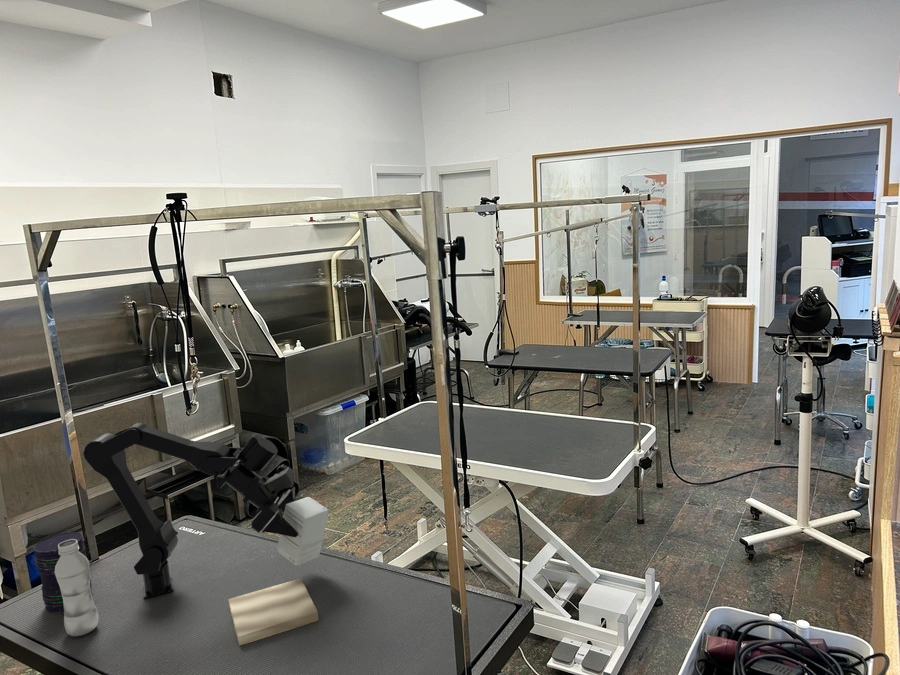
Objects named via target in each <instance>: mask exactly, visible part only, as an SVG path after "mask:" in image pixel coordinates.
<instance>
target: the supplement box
mask: <svg viewBox="0 0 900 675" xmlns="http://www.w3.org/2000/svg"><path fill="white" fill-rule="evenodd" d="M296 500H297V501H294V502H291V503H288V504H286V507H285V512H284V511H283V518H284V519H285V520H286V521H287V522H288V523H289V524H290V525H291V526H292V527H293V528H294V529H295V530H296V531H297V532H298V535H297V537H290V536H286V535H281V534H279V538H278V544H277V547H276V548H277V549H276V551H277V553H279V554H280V555H282V556H283V557H284V558H285V559H286V560H288V561H289V562H291V564H293V565H295V566H296V567H298V566H300V565H303V564H305V563H307V562H308V561H311V560H313V559H316V558H319V557H320V554H321V549H322V545H323V540H324V535H325V529H326V526H327V521H328V516H329V512H330V509H328V508H326V507H325V506H324V505H322V504H320V503H319V502H318V501H316V500H315V499H313V498H312V497H310V496H307V497H304V498H300V499H296Z"/></svg>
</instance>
